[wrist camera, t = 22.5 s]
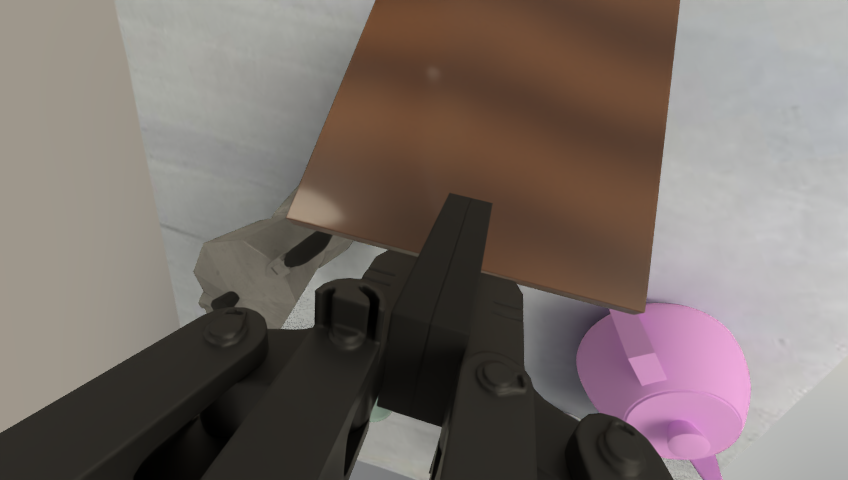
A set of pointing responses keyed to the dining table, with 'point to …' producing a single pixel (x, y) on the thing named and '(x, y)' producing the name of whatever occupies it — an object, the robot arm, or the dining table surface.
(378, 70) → the lid
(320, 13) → the dining table surface
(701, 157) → the dining table surface
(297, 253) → the coffeepot
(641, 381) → the teapot
